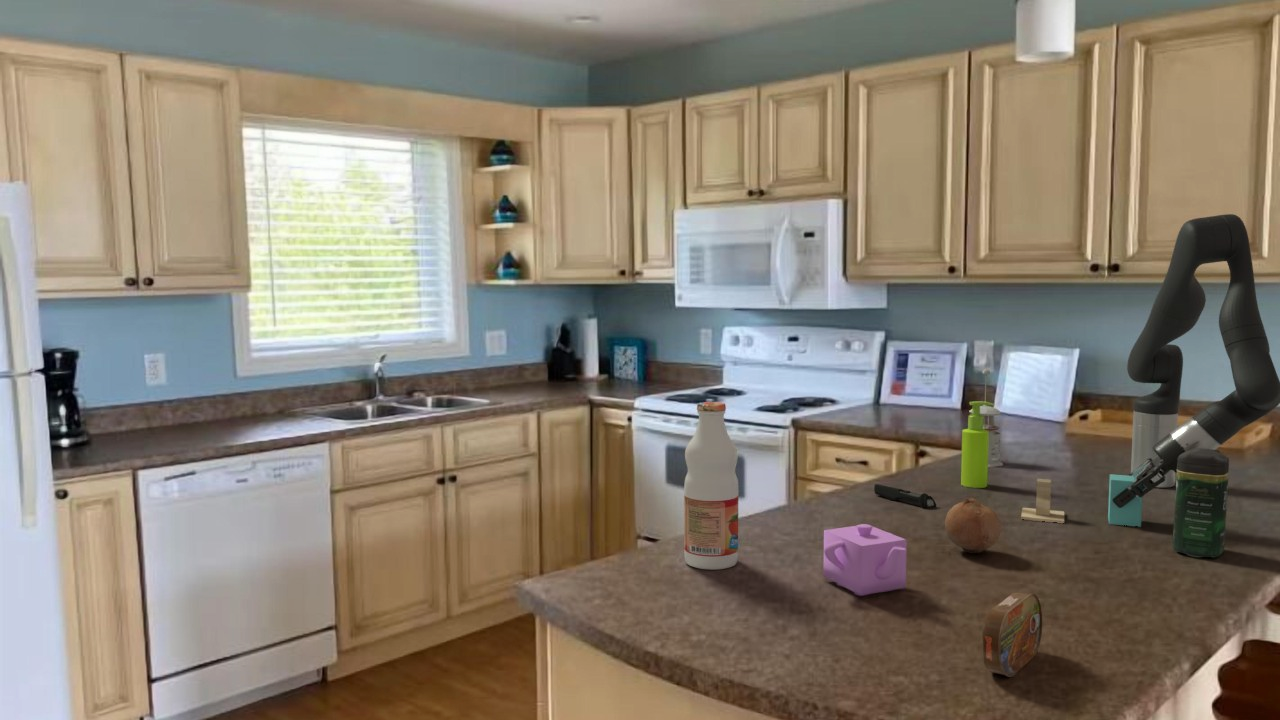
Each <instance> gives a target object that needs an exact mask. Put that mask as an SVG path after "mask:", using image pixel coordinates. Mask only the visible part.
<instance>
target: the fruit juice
mask: <svg viewBox="0 0 1280 720" xmlns="http://www.w3.org/2000/svg"><path fill="white" fill-rule="evenodd" d="M726 407H727V406H726V403H724V402H719V401H704V402H703V401H702V402H699V403H697V406H696V410H697V412H696V413H697V414H698V422H697V426H696V430H695V433H694V435H693V436H692V438H691V439H690V440H689V442H688V443H687V445H686V447H685V451H684V458H685V459H684V460H685V464H686V466H687V472H686V475H685V478H684V486H683V487H684V488H683V497H684V499H683V502H684V503H683V504H684V505H683V507H684V508H683V509H684V510H683V512H684V513H683V518H684V519H683V520H684V521H683V524H684V525H683V526H684V527H683V533H684V534H683V535H684V536H683V537H684V541H683V543H684V545H683V548H684V551H683V552H684V553H683V554H684V560H685V563H686V564H687V565H688V566H690V567H693V568H696V569H701V570H711V571H713V570H725V569H728V568H732V567H734V566H735V565H736V564H738V559H739V480H738V477H737V474H736V467H737V464H738V457H739V456H738V455H739V453H738V447H737V446H736V444H735V443H734V441H733V440H732V439H731V437H730V435H729V434H728V433H729V432H728V430H727V428H726V423H725V418H724V417H725V414H726V411H727V410H726V409H727V408H726Z"/></svg>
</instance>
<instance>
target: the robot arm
mask: <svg viewBox="0 0 1280 720" xmlns="http://www.w3.org/2000/svg"><path fill="white" fill-rule="evenodd" d="M1179 229H1180V230H1179V232H1178V234H1177V236H1176V240H1175V244H1174V247H1173V251H1172V255H1171V258H1170V261H1169V264H1168V265H1169V266H1168V268H1167V272H1166V274H1165V277H1164V280H1163V282H1162V284H1161V287H1160V289H1159V291H1158V293H1157V294H1156V297H1155V300H1154V303H1153V304H1152V307H1151V310H1150V313H1149V315H1148V319H1147V320H1146V323H1145V324H1144V327H1143V329H1142V330H1141V333H1140V335H1139V336H1138V338H1137V339H1136V341H1135V343H1134V344H1133V346H1132V348H1131V350H1130V353H1129V355H1128V359H1127V365H1126V366H1127V367H1126V369H1127V374H1128V376H1129V378H1130V379H1131V380H1132V381H1133V382H1135V383H1141V384H1160V386H1159V387H1158V388H1157V389H1156V390H1155V391H1153V392H1152V393H1150V394H1145V395H1144V396H1140V397H1137V398H1136V399H1134V402H1133V413H1132V414H1133V415H1132V416H1133V418H1132V437H1131V438H1132V439H1131V461H1130V463H1131V464H1130V473H1129V474H1127V476H1133V477H1134V482H1133V483H1132V484H1130V485H1129V486H1128V487H1127V488H1126V489H1125V490H1123V491H1122V492H1121V493H1120V494H1118V495H1117V496H1116V497H1114V498H1113V502H1114V503H1115V504H1116V505H1117V506H1118V507H1119V508H1122V507H1123V506H1124V505H1126V504H1127V503H1128V502H1130V501H1131V500H1132V499H1134V498H1135V496H1136V497H1142V498H1143V497H1144V496H1145V495H1146V494H1148V493H1149V492H1151V491H1152V490H1154V489H1155V488H1171V487H1174V486H1176V474H1177V462H1178V460H1177V459H1178V457H1179V455H1181V454H1182V453H1184V452H1186V451H1189V450H1192V449H1194V448H1204V449H1213V450H1218V448H1219V447H1220V446H1222V445H1223V444H1224V443H1226V442H1227V441H1228V440H1230V439H1231V438H1233V437H1234V436H1236V434H1237V433H1239V431H1241V430H1242V429H1244V428H1245V427H1246V426H1249V425H1251V424H1252V423H1254V422H1256V421H1257V420H1259V419H1261V418H1262V417H1264V416H1265V415H1267V414H1269V413H1270V412H1271V411H1273V410H1275V409H1276V408H1277V407H1278V406H1279V405H1280V379H1279V376H1278V373H1277V371H1276V370H1277V369H1276V367H1275V364H1274V362H1273V360H1272V357H1271V354H1270V353H1271V350H1270V343H1269V340H1268V337H1267V333H1266V330H1265V327H1264V323H1263V320H1262V317H1261V314H1260V310H1259V309H1260V308H1259V305H1258V300H1257V293H1256V285H1255V275H1254V267H1253V266H1254V265H1253V259H1252V253H1251V252H1252V251H1251V245H1250V239H1249V234H1248V230H1247V228H1246V225H1245V223H1244V221H1243V220H1242V219H1241V217H1240V216H1238V215H1236V214H1233V213H1232V214H1231V213H1228V214H1220V215H1213V216H1206V217H1204V216H1203V217H1197V218H1193V219H1190V220H1189V219H1188V221H1186V222H1184V223H1183V224H1182V226H1181V227H1180V228H1179ZM1219 262H1220V263H1221V262H1226V263H1227V265H1228V270H1229V275H1230V276H1229V285H1228V289H1227V290H1226V293H1225V294H1226V295H1225V296H1224V299H1223V302H1222V304H1221V306H1220V307H1221V308H1220V310H1219V314H1218V327H1219V332H1220V335H1221V338H1222V342H1223V347H1224V348H1225V351H1226V354H1227V357H1228V359H1229V361H1230V362H1229V363H1230V368H1231V369H1230V370H1231V374H1232V379H1233V384H1234V387H1235V389H1234V390H1233V391H1232V392H1231V393H1229V394H1228V395H1226V396H1225V397H1224V398H1223V399H1221V400H1217V401H1213V402H1211V403H1210V404H1208V405H1206V406H1205V407H1204V408H1203V409H1201V410H1200V411H1198V412H1197V413H1196V414H1195V415H1194V416H1192V417H1191V418H1190V419H1188V420H1186V421H1185V422H1183V423H1181V424H1180V425H1178V424H1179V423H1178V421H1179V420H1178V418H1179V405H1180V400H1181V385H1182V377H1183V367H1184V356H1183V352H1182V348H1180V346H1178V345H1177V344H1170V343H1171V342H1173V341H1175V340H1177V339H1179V338H1181V337H1182V336H1184V335H1185V334H1187V333H1188V332H1190V331H1191V330H1192V329H1193V328H1194V326H1195V325H1196V324H1197V322H1198V321H1199V319H1200V316H1201V315H1202V312H1203V311H1204V309H1205V307H1206V302H1207V299H1206V293H1205V291H1204V288H1203V287H1202V285H1201V283H1200V282H1199V280H1198V279H1197V278H1196V276H1195V273H1196V271H1197V269H1198V268H1199V267H1200V266H1202V265H1206V264H1214V263H1219ZM1140 484H1141V485H1142V486H1143V489H1140V488H1139V487H1138V486H1139V485H1140Z"/></svg>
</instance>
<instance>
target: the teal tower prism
mask: <svg viewBox="0 0 1280 720" xmlns="http://www.w3.org/2000/svg"><path fill="white" fill-rule="evenodd" d="M1133 482H1134V477H1133V476H1128V475H1127V474H1126V475H1125V474H1122V475H1121V474H1112V473H1110V474H1109V483H1108V484H1109V487H1108V488H1109V489H1108V509H1107V513H1108V514H1107V520H1108V524H1109V525H1116V526H1124V525H1125V527H1127V526H1128V527H1135V526H1138V527H1137V528H1141V527H1142V514H1143V512H1142V510H1143V497H1136V496H1135V498H1134V499H1132V500H1131V501H1130V502H1128V503H1127V504H1126V505H1124V506H1123V507H1122V508H1119V507H1118V506H1117V505H1116V504H1115V503H1114V502H1113V498H1114V497H1116V496H1117V495H1118V494H1120V493H1121V492H1122V491H1123V490H1125V489H1126V488H1127V487H1128V486H1129V485H1130V484H1132V483H1133ZM1138 487H1139V488H1140V489H1143V486H1142V485H1141V484H1140V485H1139V486H1138ZM1126 525H1127V526H1126Z"/></svg>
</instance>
